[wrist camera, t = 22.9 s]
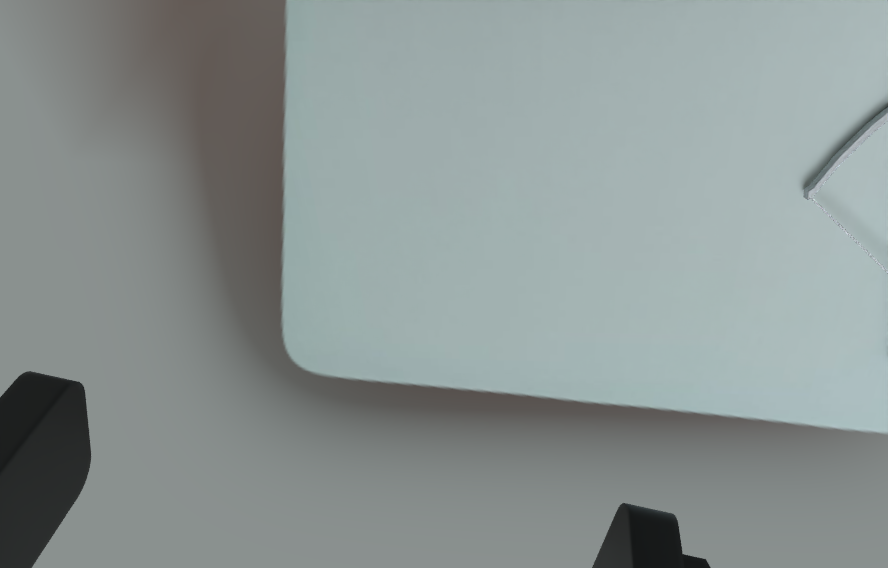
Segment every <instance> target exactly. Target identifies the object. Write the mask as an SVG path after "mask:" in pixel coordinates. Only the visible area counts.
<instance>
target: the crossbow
mask: <svg viewBox="0 0 888 568" xmlns="http://www.w3.org/2000/svg"><path fill="white" fill-rule="evenodd" d="M887 121H888V107H887V108H885V109H884V110H883V111H882V112H881V113H879V114H878V115H877V116H876V117H874V118H873V119H872V120H871V121H869V122H868V123H867V124H866V125H865V126H864V127H863V128H862V129H861V130H860V131H859V132H858V133H857V134H856V135H855V136H854V137H853V138H852V139H851V140H850V141H849V142H848V143H846V144H845V145H844V146H843V147H842V148H841V149H840V150H839V151H838V152H837V153H836V154H835V155H834V157H833V158H832V159H831V160H830V161H829V163H828V164H827V165H826V166H825V167H824V169H823V170H822V171H821V172H820V173H819V175H818V176H817V177H816V178H815V179H814V181H813V182H812V183H811V184H810V185H809V186H807V187H806V188H804V196H803V197H804V198H806V199H807V200H809V199H810V198H811V199H812V200H813V201H814V202H815V203H816V204H817V205H818V206H819V207H820V208H821V209H822V210H823V211H824V212H825V213H826V214H827V215H828V216H829V217H830V218H831V219H832V220H833V221H834V222H835V223H836V224H838V225H839V226H840V227H841V228H842V229H843V230H844V231H845V232H846V233H847V234H848V235H849V236H850V237H851V238H852V239H853V240H854V241H855V242H856V243H857V244H858V245H859V246H860V247H861V248H862V249H863V250H864V251H865V252H866V253H867V254H868V255H869V256H870V257H871V258H872V259H874V260H875V261H876V262H877V263H878V264H879V265H880V266H881V267H882V268H883V269H884V270H885V271H886V272H887V273H888V271H887V270H886V269H885V268H884V267H883V266H882V265H881V264H880V263H879V262H878V261H877V260H876V259H875V258H874V257H873V256H872V255H871V254H870V253H869V252H868V251H867V250H866V249H865V248H864V247H863V246H862V245H861V244H860V243H859V242H858V241H857V240H856V239H855V238H854V237H852V236H851V235H850V234H849V233H848V232H847V231H846V230H845V229H844V228H843V227H842V226H841V225H840V224H839V223H838V222H837V221H836V220H835V219H834V218H833V217H832V216H831V215H830V214H829V213H828V212H827V211H826V210H825V209H824V208H823V207H822V206H821V205H820V204H819V203H818V202H816V201H815V200H814V199H813V198H812V197H813V196H815V194H816V193H817V192H818V190H819V189H820V188H821V187H822V186H823V184H824V183H825V182H826V181H827V180H828V178H829V177H830V176H831V175H832V174H833V172H834V171H835V170H836V169H837V168H838V167H839V165H840V164H841V163H842V162H844V161H845V160H846V159H847V158H848V157H849V156H850V155H851V154H852V153H853V152H854V151H855V150H856V149H857V148H858V147H859V146H860V145H861V144H862V143H863V142H864V141H865V140H866V139H867V138H868V137H869V136H870V135H871V134H872V133H874V132H875V131H876V130H877V129H879V128H880V127H881V126H882V125H884V124H885V123H886V122H887Z"/></svg>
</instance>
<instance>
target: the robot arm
mask: <svg viewBox="0 0 888 568" xmlns="http://www.w3.org/2000/svg"><path fill="white" fill-rule="evenodd" d="M90 462H91V449H90V438H89V428H88V418H87V409H86V398H85V390H84V387H83V385H82V384H81V383H80V382H76V381H72V380H67V379H63V378H58V377H54V376H49V375H44V374H40V373H35V372H31V371H29V372H25V373H23V374H22V375H20V376H19V377H18V378H17V379H16V380H15V381H14V383H13V384H12V385H11V386H10V387H9V388H8V389H7V391H6V392H5V393H4V394H3V395H2V396H1V397H0V568H32V566H33V565H34V563H35V562H36V560H37V559H38V557H39V555H40V554H41V552H42V551H43V549H44V548H45V546H46V545H47V543H48V542H49V540H50V539H51V537H52V536H53V534H54V533H55V531H56V530H57V528H58V527H59V525H60V524H61V522H62V521H63V519H64V518H65V516H66V514H67V513H68V511H69V510H70V508H71V507H72V505H73V504H74V502H75V501H76V499H77V498H78V496H79V494H80V492H81V491H82V489H83V486H84V484H85V481H86V479H87V475H88V472H89V468H90ZM592 568H710V566H709V564H708V563H707V561H706V559H702V558H697V557H692V556H688V555H684V554H682V547H681V540H680V533H679V526H678V521H677V519H676V517H675V515H674V514H672V513H667V512H663V511H658V510H653V509H648V508H644V507H639V506H635V505H631V504H625V503H623V504H621V505H620V507H619V508H618V510H617V512H616V514H615V517H614V519H613V521H612V524H611V526H610V528H609V530H608V533H607V535H606V537H605V540H604V542H603V544H602V547H601V549H600V551H599V553H598V556H597V558H596V560H595V562H594V565H593V567H592Z"/></svg>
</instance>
